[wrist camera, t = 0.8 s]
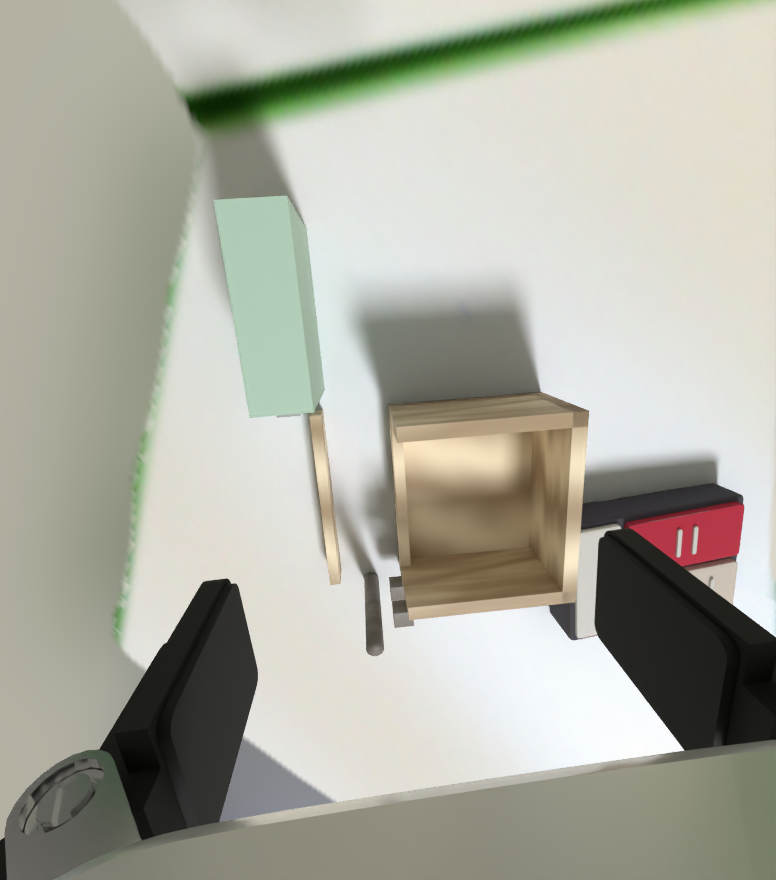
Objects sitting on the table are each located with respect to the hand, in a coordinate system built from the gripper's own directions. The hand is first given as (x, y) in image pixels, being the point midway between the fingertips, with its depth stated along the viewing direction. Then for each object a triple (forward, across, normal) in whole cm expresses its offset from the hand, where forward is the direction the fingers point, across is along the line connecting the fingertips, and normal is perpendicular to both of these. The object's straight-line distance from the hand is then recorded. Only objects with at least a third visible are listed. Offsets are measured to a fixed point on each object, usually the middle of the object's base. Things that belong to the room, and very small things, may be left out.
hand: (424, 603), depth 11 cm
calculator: (+23, -21, +15) cm, 35 cm away
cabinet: (+22, -4, +7) cm, 24 cm away
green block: (+22, +6, -8) cm, 24 cm away
